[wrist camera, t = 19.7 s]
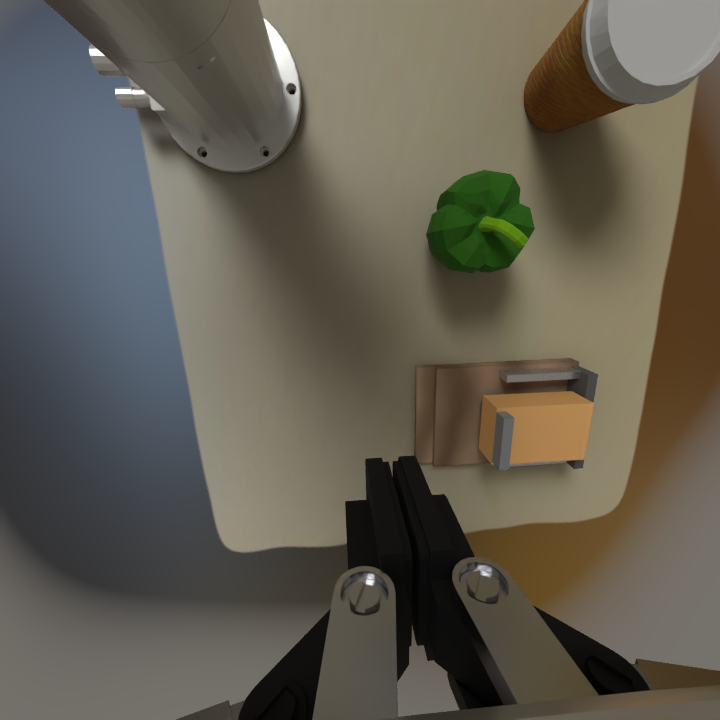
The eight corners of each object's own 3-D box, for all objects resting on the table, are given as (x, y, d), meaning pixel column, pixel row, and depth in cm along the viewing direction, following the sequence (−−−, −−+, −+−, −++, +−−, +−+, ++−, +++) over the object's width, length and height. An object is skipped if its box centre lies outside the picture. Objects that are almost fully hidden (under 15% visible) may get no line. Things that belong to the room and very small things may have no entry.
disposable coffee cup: (579, 164, 35) (701, 115, 23) (491, 132, 33) (574, 64, 22) (622, 54, 32) (782, -61, 21) (530, 15, 31) (646, -131, 19)
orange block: (474, 442, 41) (498, 474, 35) (478, 391, 39) (504, 414, 33) (557, 438, 41) (595, 468, 35) (565, 387, 39) (605, 409, 33)
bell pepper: (400, 218, 35) (425, 202, 25) (472, 169, 34) (525, 134, 24) (441, 290, 37) (478, 300, 27) (509, 245, 36) (572, 240, 27)
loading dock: (414, 460, 42) (423, 482, 38) (415, 365, 39) (425, 378, 35) (557, 451, 43) (582, 472, 39) (570, 358, 40) (598, 370, 36)
